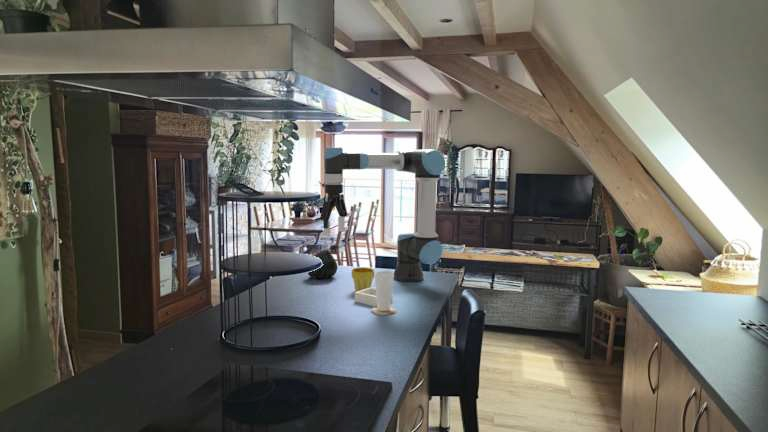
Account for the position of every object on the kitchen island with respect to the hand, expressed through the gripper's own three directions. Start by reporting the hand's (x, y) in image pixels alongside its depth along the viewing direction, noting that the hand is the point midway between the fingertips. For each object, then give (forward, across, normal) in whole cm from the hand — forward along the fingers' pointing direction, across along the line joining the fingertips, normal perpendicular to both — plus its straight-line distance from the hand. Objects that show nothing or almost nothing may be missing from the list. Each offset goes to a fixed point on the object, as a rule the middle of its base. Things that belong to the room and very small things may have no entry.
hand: (334, 233), depth 216 cm
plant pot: (+29, -16, +6) cm, 33 cm away
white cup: (+28, +9, +26) cm, 39 cm away
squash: (+28, -31, -23) cm, 48 cm away
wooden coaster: (+28, +9, +26) cm, 40 cm away
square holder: (+28, -2, +17) cm, 33 cm away
